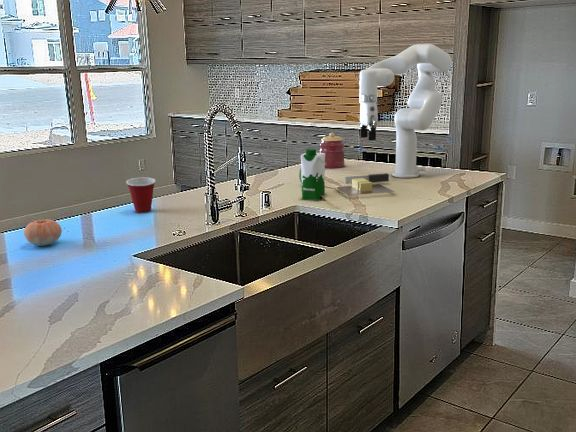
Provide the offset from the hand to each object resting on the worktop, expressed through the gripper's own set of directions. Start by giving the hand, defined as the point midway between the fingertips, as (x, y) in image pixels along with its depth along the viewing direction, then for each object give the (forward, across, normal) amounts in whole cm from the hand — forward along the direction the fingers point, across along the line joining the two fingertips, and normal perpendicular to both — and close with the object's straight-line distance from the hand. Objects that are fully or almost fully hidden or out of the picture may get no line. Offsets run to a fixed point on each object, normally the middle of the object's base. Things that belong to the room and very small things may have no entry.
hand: (367, 138), depth 257 cm
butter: (+19, -14, +9) cm, 25 cm away
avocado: (+20, +5, +26) cm, 33 cm away
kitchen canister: (+20, +48, +1) cm, 53 cm away
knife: (+20, -2, +1) cm, 20 cm away
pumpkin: (+20, -53, +128) cm, 140 cm away
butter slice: (+19, -20, +9) cm, 28 cm away
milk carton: (+20, -19, +31) cm, 41 cm away
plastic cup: (+20, -19, +98) cm, 101 cm away
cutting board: (+20, -17, +8) cm, 27 cm away
